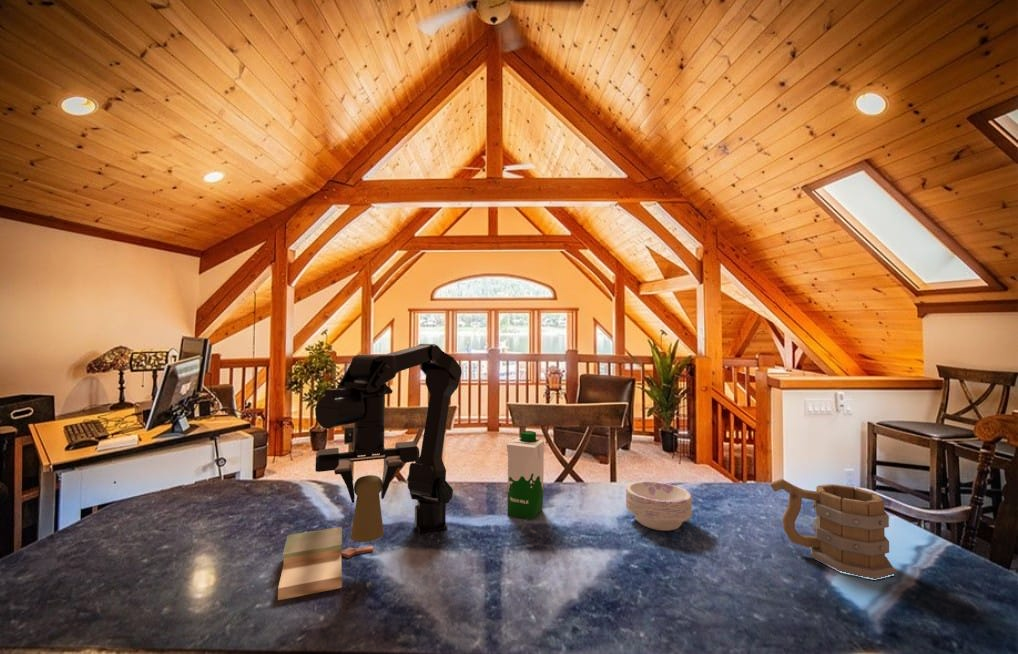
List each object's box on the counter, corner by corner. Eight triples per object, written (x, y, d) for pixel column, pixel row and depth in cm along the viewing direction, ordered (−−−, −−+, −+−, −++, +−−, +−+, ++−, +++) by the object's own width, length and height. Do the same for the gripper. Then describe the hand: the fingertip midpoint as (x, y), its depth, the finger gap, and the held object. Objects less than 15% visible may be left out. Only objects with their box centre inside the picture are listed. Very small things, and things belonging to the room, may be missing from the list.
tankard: (880, 556, 88) (879, 483, 88) (901, 587, 77) (900, 504, 77) (768, 534, 97) (767, 469, 98) (772, 559, 86) (772, 485, 87)
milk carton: (546, 508, 111) (547, 432, 111) (535, 522, 102) (536, 439, 103) (515, 503, 114) (516, 429, 115) (502, 516, 106) (503, 436, 106)
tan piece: (371, 541, 92) (371, 522, 92) (378, 580, 77) (378, 558, 77) (287, 555, 86) (287, 535, 86) (277, 600, 71) (277, 576, 71)
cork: (373, 543, 78) (375, 483, 78) (344, 540, 79) (345, 481, 79) (389, 529, 84) (390, 473, 84) (361, 526, 85) (362, 471, 85)
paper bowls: (675, 510, 111) (675, 479, 111) (703, 537, 96) (703, 501, 96) (618, 510, 110) (618, 479, 111) (637, 537, 95) (637, 501, 95)
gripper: (410, 409, 93) (409, 481, 93) (317, 415, 86) (315, 492, 85) (420, 418, 83) (419, 499, 82) (316, 425, 75) (314, 513, 75)
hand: (367, 500), depth 82 cm, fingers closed on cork, 5 cm apart
